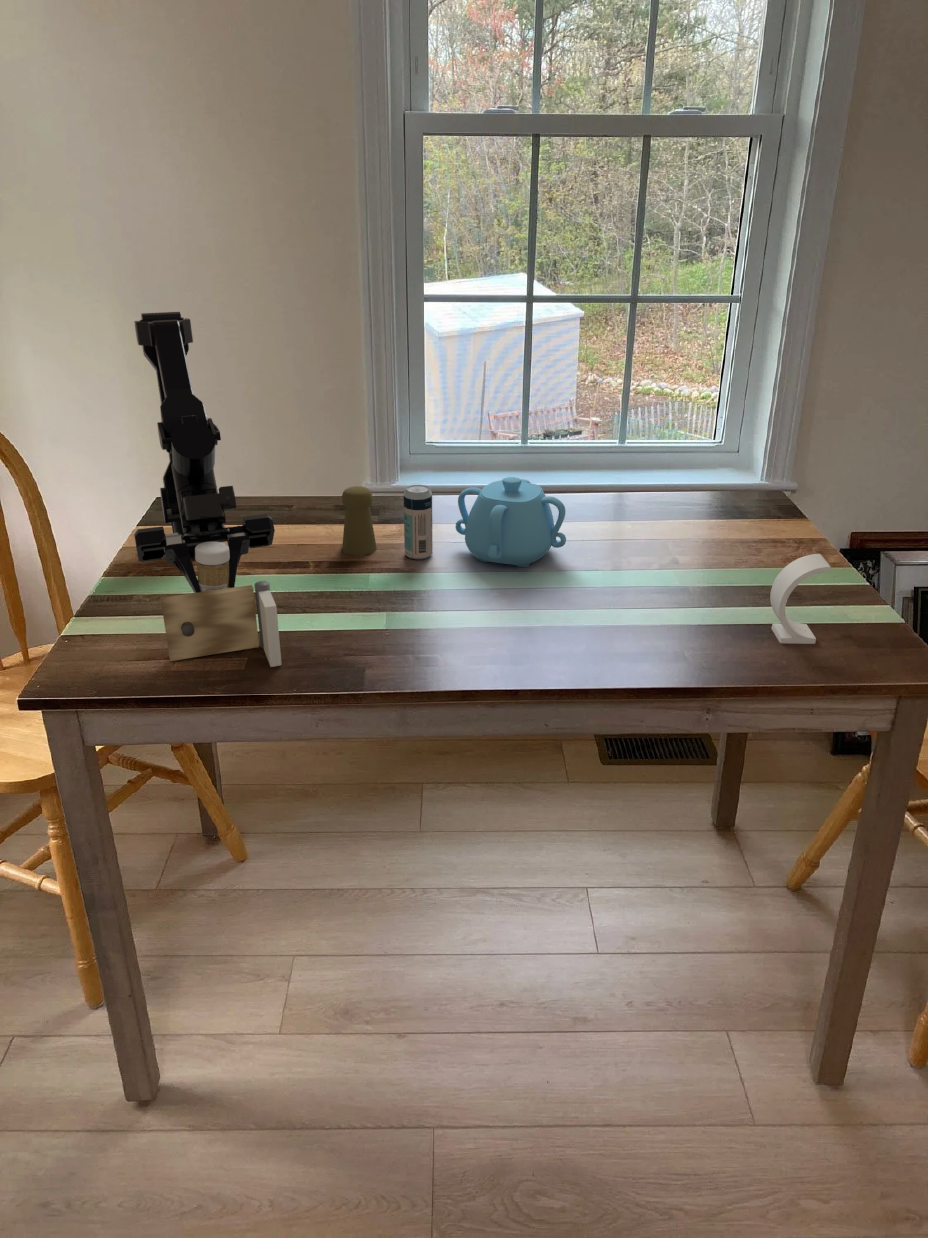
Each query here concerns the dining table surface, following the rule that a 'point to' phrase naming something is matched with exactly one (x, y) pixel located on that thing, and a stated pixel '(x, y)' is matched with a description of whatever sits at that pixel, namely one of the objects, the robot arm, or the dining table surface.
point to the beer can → (418, 521)
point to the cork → (358, 522)
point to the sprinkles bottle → (212, 566)
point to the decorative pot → (510, 522)
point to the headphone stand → (784, 587)
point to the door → (210, 622)
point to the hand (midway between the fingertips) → (215, 594)
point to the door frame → (268, 623)
